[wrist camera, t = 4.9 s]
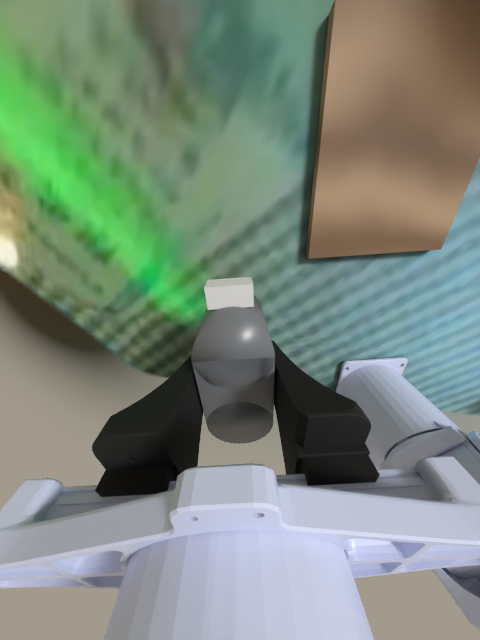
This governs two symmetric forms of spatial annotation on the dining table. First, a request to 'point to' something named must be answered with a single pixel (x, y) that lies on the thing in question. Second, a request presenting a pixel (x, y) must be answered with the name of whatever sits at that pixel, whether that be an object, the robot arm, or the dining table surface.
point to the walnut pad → (395, 125)
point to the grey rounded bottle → (234, 362)
